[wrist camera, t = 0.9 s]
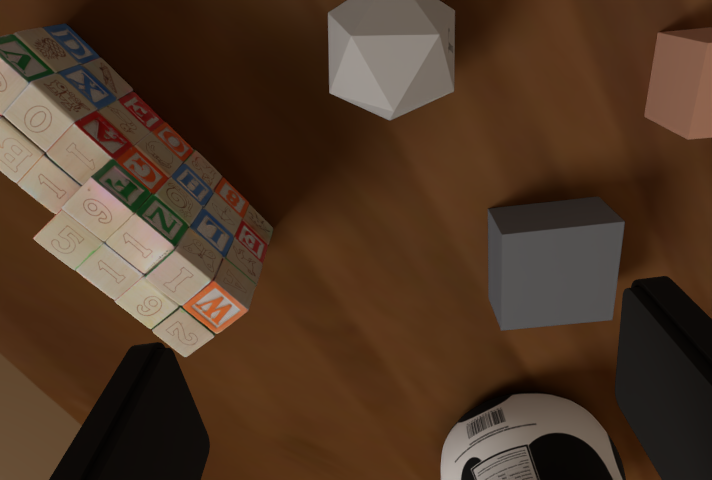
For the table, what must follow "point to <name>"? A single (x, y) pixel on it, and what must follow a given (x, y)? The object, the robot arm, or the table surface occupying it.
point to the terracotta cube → (682, 83)
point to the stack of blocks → (125, 191)
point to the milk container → (529, 442)
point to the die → (391, 54)
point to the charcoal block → (553, 262)
